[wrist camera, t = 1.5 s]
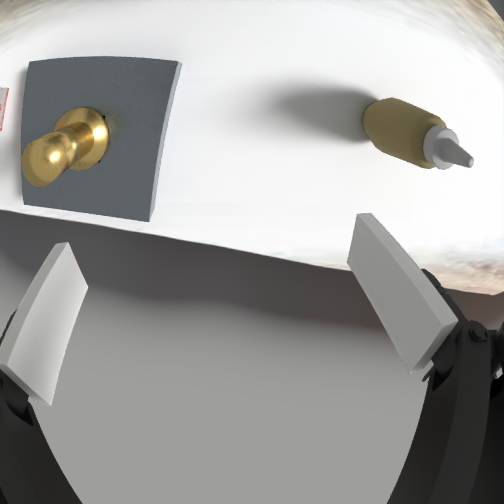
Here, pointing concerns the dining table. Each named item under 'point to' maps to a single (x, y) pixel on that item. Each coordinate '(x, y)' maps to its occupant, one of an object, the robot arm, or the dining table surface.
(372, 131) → the squeeze bottle
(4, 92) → the tea bag
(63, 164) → the brass door knob
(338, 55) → the dining table surface
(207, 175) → the dining table surface
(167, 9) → the dining table surface
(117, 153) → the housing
